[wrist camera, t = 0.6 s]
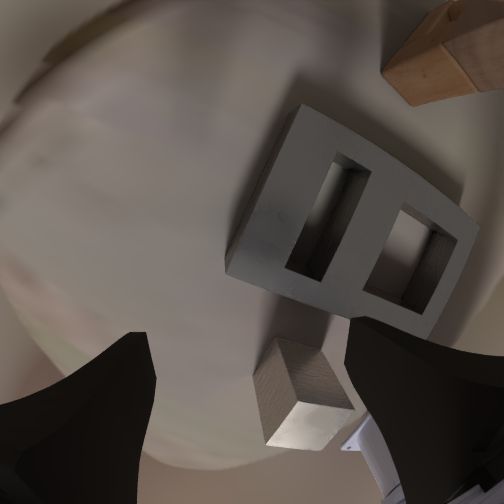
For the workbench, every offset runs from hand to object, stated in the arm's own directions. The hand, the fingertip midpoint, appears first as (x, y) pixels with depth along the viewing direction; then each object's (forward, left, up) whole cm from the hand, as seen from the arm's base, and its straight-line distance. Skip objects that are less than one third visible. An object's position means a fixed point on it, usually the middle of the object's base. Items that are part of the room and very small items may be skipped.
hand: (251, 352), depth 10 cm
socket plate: (-7, -5, -10) cm, 13 cm away
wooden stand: (-7, -21, -10) cm, 24 cm away
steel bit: (-7, +6, -10) cm, 13 cm away
